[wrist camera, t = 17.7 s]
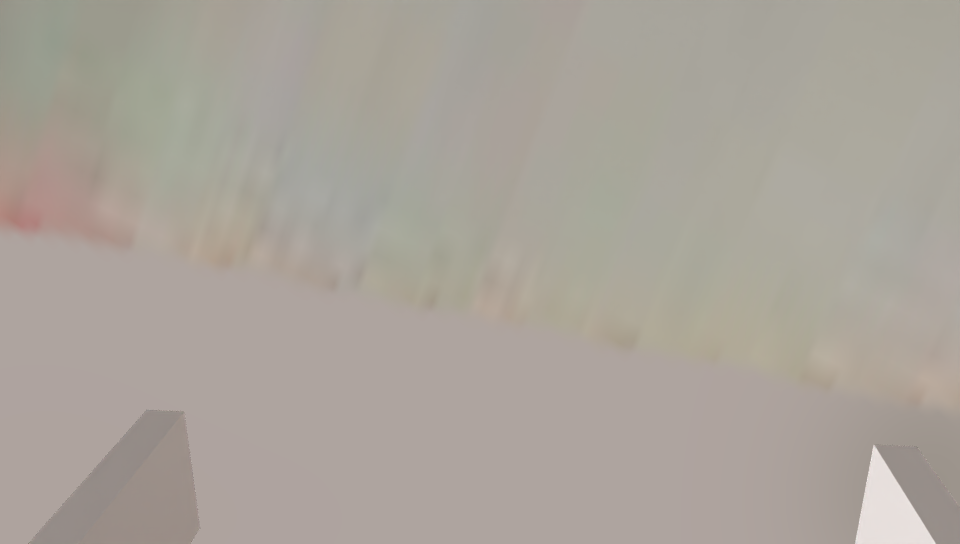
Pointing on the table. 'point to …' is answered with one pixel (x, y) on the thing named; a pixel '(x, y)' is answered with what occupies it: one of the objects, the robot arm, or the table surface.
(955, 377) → the table surface
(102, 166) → the table surface
